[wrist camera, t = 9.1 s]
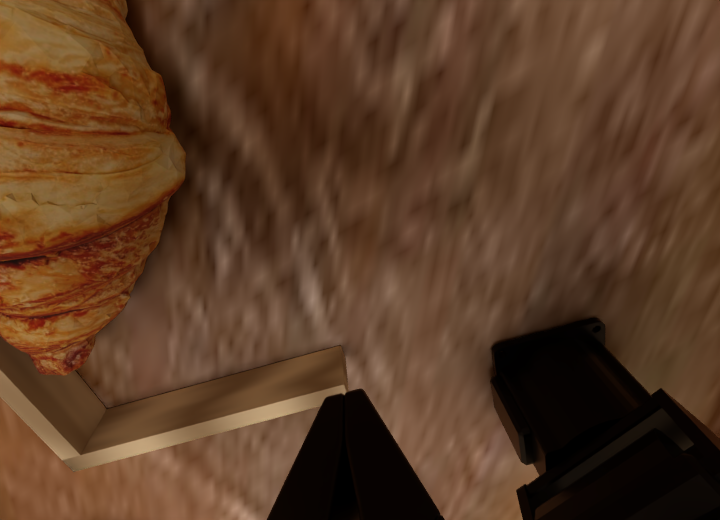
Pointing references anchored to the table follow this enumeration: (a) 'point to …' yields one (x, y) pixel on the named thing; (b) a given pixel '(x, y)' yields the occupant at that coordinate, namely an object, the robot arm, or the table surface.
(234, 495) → the table surface
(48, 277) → the croissant
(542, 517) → the robot arm
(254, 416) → the frame
